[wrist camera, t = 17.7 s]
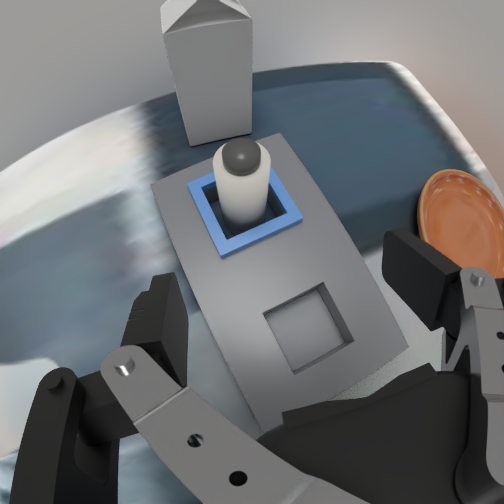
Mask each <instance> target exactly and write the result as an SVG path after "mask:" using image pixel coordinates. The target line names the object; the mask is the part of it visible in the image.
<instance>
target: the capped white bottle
mask: <svg viewBox="0 0 504 504" xmlns="http://www.w3.org/2000/svg"><path fill="white" fill-rule="evenodd" d="M270 165H271V159H270V155H269V153H268V151H267V150H266V149H265V148H264V147H263V146H262V145H261V144H259V143H257V142H255V141H253V140H251V139H248V138H235V139H232V140H230V141H229V142H227V143H226V144H224V145H223V146H221V147H220V148H219V149H218V150H217V151H216V153H215V155H214V158H213V169H214V174H215V180H216V185H217V190H218V195H219V201H220V206H221V211H222V216H223V221H224V224H225V226H226V228H227V229H228V230H229V231H230V232H232V233H233V234H236V235H239V234H241V233H244V232H246V231H248V230H250V229H252V228H255V227H257V226H259V225H261V224H264V221H265V212H266V203H267V194H268V184H269V175H270Z"/></svg>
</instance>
